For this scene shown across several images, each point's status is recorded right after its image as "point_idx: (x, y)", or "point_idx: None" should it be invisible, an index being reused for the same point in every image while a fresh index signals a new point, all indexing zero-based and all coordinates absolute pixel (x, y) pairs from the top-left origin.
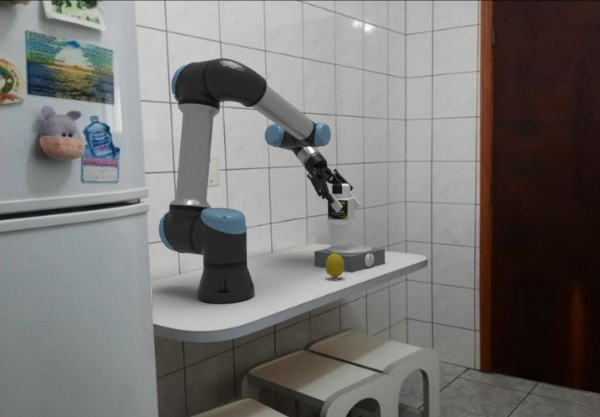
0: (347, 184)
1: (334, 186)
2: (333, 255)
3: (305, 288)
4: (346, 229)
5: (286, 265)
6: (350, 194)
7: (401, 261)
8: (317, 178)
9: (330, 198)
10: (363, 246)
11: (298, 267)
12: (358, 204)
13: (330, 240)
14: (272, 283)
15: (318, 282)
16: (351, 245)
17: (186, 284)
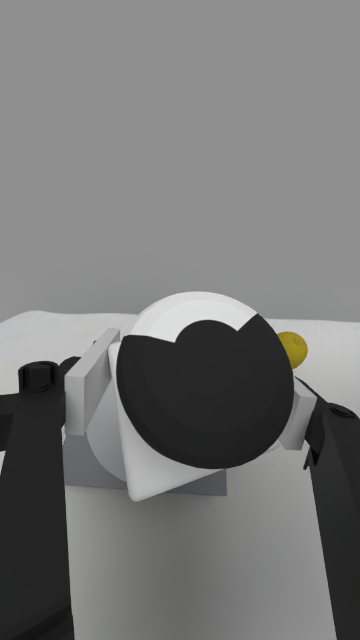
0: (198, 295)
1: (293, 379)
2: (303, 340)
3: (349, 361)
4: None
5: (265, 585)
6: (97, 368)
7: (63, 336)
8: None
9: (307, 388)
10: (105, 391)
11: (257, 517)
12: (119, 334)
13: None
14: None
15: (310, 368)
16: (103, 434)
17: None
